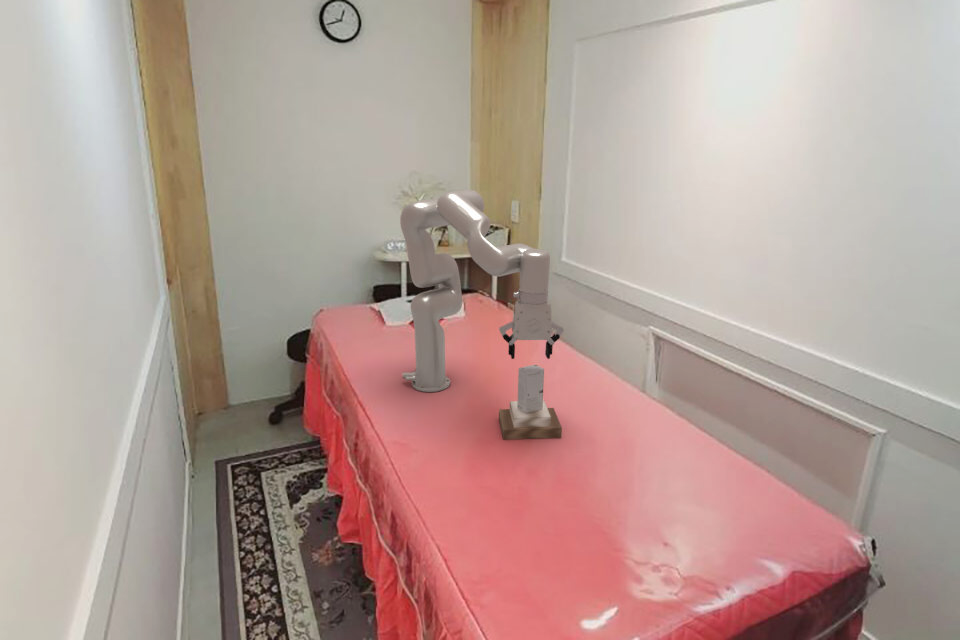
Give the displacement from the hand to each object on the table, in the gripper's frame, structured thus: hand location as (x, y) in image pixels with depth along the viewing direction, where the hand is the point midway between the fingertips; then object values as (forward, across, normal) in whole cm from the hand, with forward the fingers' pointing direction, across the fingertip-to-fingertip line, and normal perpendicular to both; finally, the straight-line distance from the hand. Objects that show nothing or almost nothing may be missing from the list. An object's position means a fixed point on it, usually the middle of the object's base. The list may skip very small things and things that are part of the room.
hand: (530, 357), depth 158 cm
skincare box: (+16, +1, 0) cm, 16 cm away
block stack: (+21, +1, -1) cm, 21 cm away
